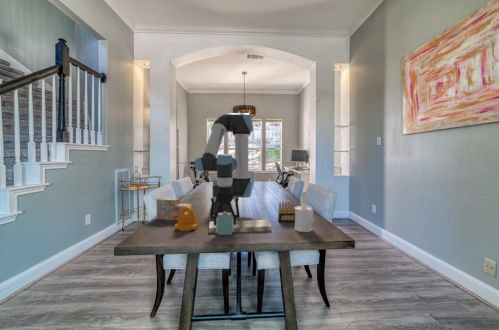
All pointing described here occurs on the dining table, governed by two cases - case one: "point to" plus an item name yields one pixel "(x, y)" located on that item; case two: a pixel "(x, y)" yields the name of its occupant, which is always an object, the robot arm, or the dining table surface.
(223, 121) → the robot arm
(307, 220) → the white smoke grenade
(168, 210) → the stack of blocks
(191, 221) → the orange bell-shaped figure
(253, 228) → the board
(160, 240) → the dining table surface
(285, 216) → the ammunition clip
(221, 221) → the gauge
